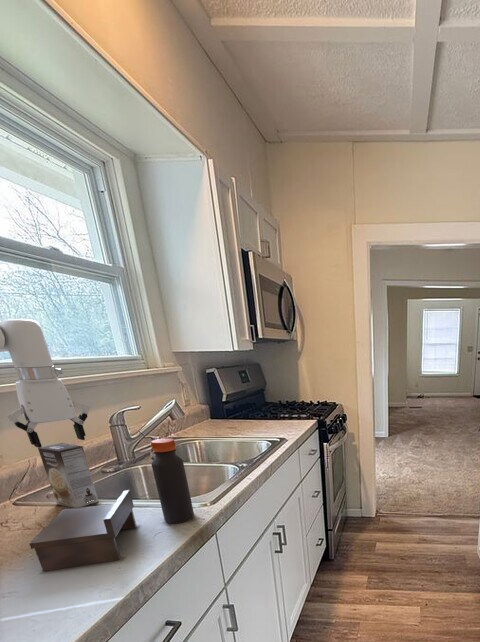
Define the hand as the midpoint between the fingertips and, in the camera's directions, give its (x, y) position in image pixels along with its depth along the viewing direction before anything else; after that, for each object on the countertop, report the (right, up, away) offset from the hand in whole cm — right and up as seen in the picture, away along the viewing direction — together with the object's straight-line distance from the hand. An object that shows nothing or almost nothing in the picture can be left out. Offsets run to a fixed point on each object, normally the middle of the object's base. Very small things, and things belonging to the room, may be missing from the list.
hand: (60, 443), depth 106 cm
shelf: (+22, -26, -18) cm, 38 cm away
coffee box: (0, -16, +6) cm, 17 cm away
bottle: (+34, -20, -4) cm, 39 cm away
